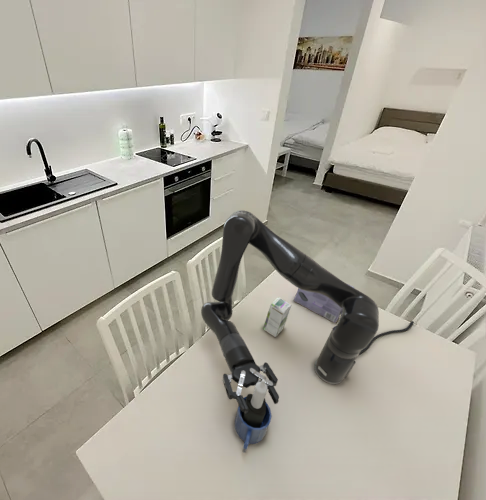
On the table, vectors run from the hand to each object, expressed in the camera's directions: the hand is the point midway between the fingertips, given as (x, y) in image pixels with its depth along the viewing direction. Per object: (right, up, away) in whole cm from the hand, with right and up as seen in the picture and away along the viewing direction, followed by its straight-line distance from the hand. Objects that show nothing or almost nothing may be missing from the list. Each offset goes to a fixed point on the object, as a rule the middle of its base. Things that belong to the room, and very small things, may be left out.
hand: (262, 407), depth 72 cm
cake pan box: (+35, +15, +48) cm, 61 cm away
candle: (-1, -11, +11) cm, 16 cm away
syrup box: (+14, +9, +39) cm, 43 cm away
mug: (-1, -13, +10) cm, 16 cm away
